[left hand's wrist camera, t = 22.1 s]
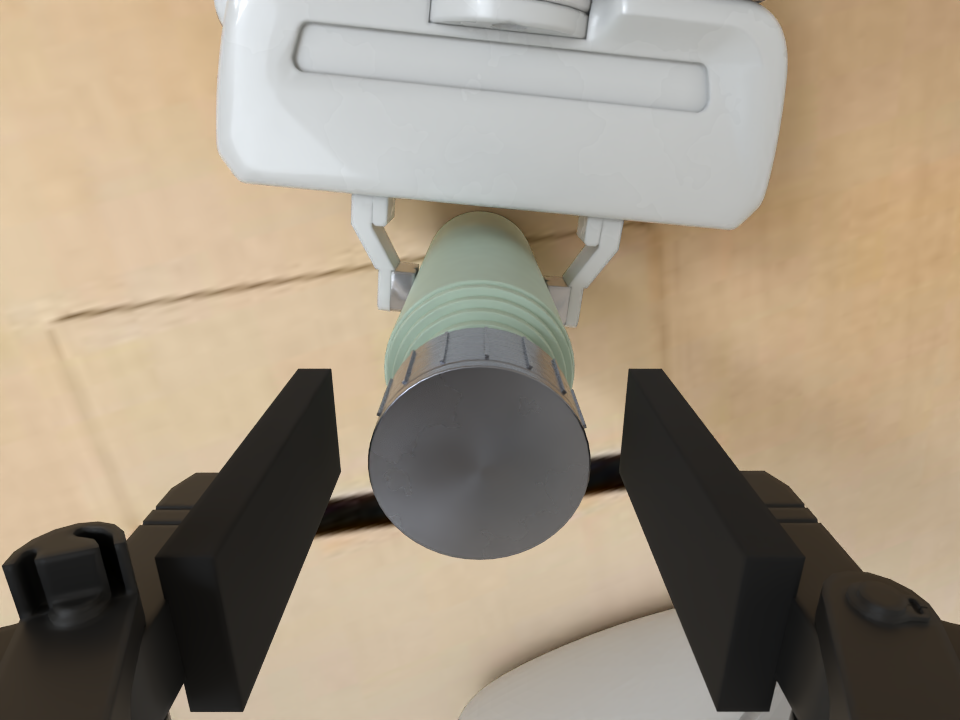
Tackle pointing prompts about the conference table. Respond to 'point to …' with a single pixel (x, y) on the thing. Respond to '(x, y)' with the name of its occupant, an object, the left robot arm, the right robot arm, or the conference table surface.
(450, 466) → the cap
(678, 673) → the projector
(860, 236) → the conference table surface
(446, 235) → the bottle
